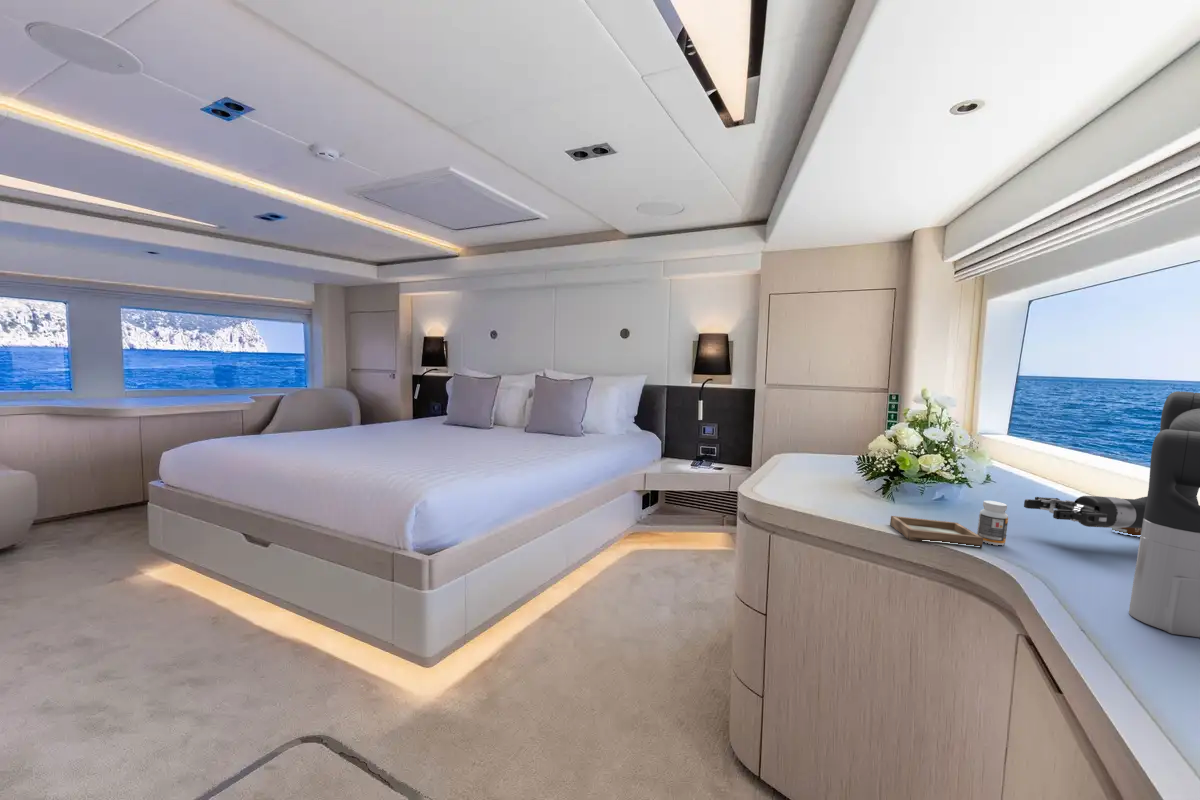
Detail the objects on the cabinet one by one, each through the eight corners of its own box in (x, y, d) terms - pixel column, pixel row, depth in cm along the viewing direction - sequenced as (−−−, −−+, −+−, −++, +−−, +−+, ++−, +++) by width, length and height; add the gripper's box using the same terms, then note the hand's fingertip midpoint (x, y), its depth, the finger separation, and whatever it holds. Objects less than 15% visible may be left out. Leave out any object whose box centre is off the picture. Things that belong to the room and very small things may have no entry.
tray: (981, 548, 124) (983, 537, 124) (909, 540, 127) (910, 529, 126) (955, 532, 136) (957, 522, 136) (890, 524, 138) (891, 515, 138)
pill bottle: (1009, 547, 126) (1015, 507, 125) (983, 544, 127) (988, 504, 126) (997, 540, 132) (1002, 501, 131) (971, 537, 133) (976, 498, 132)
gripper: (1079, 489, 136) (1018, 486, 136) (1135, 505, 122) (1067, 502, 122) (1075, 517, 137) (1014, 514, 137) (1131, 536, 123) (1063, 533, 122)
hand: (1039, 508), depth 129 cm, fingers open, 8 cm apart
